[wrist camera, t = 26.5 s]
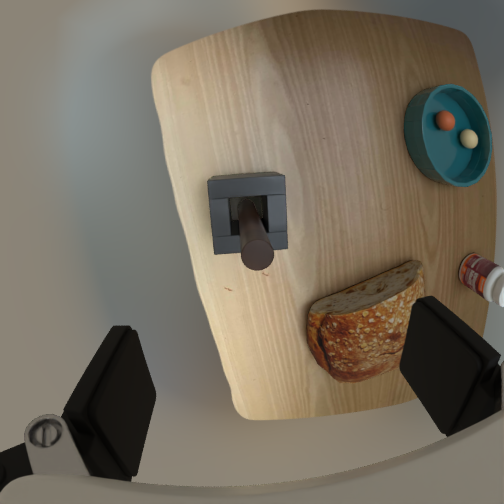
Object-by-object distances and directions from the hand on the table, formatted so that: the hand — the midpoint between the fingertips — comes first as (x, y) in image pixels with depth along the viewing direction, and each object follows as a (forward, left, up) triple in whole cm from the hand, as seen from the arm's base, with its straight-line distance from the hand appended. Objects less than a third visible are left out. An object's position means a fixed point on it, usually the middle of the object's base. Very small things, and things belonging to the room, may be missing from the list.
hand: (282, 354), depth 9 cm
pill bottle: (+13, +40, -32) cm, 53 cm away
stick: (0, 0, -31) cm, 31 cm away
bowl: (-10, +31, -31) cm, 45 cm away
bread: (+20, +18, -32) cm, 41 cm away
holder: (0, 0, -31) cm, 31 cm away
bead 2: (-10, +35, -29) cm, 47 cm away
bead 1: (-12, +30, -29) cm, 44 cm away
